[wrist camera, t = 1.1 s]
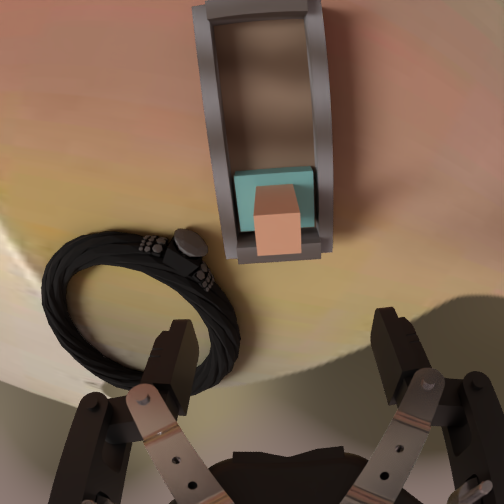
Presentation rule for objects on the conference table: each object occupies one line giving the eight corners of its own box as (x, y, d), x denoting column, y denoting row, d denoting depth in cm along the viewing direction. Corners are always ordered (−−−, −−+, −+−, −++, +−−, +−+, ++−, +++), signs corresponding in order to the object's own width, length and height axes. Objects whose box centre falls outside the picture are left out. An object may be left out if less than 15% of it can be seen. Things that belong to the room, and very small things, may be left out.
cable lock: (27, 337, 38) (68, 170, 25) (38, 321, 41) (88, 159, 28) (178, 421, 45) (305, 319, 32) (182, 403, 48) (302, 296, 35)
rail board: (198, 16, 21) (185, 4, 17) (315, 6, 20) (324, -8, 16) (228, 240, 32) (222, 265, 28) (327, 234, 31) (336, 257, 27)
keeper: (235, 171, 26) (225, 203, 20) (310, 166, 26) (326, 196, 19) (242, 223, 29) (234, 269, 22) (312, 219, 28) (325, 263, 22)
